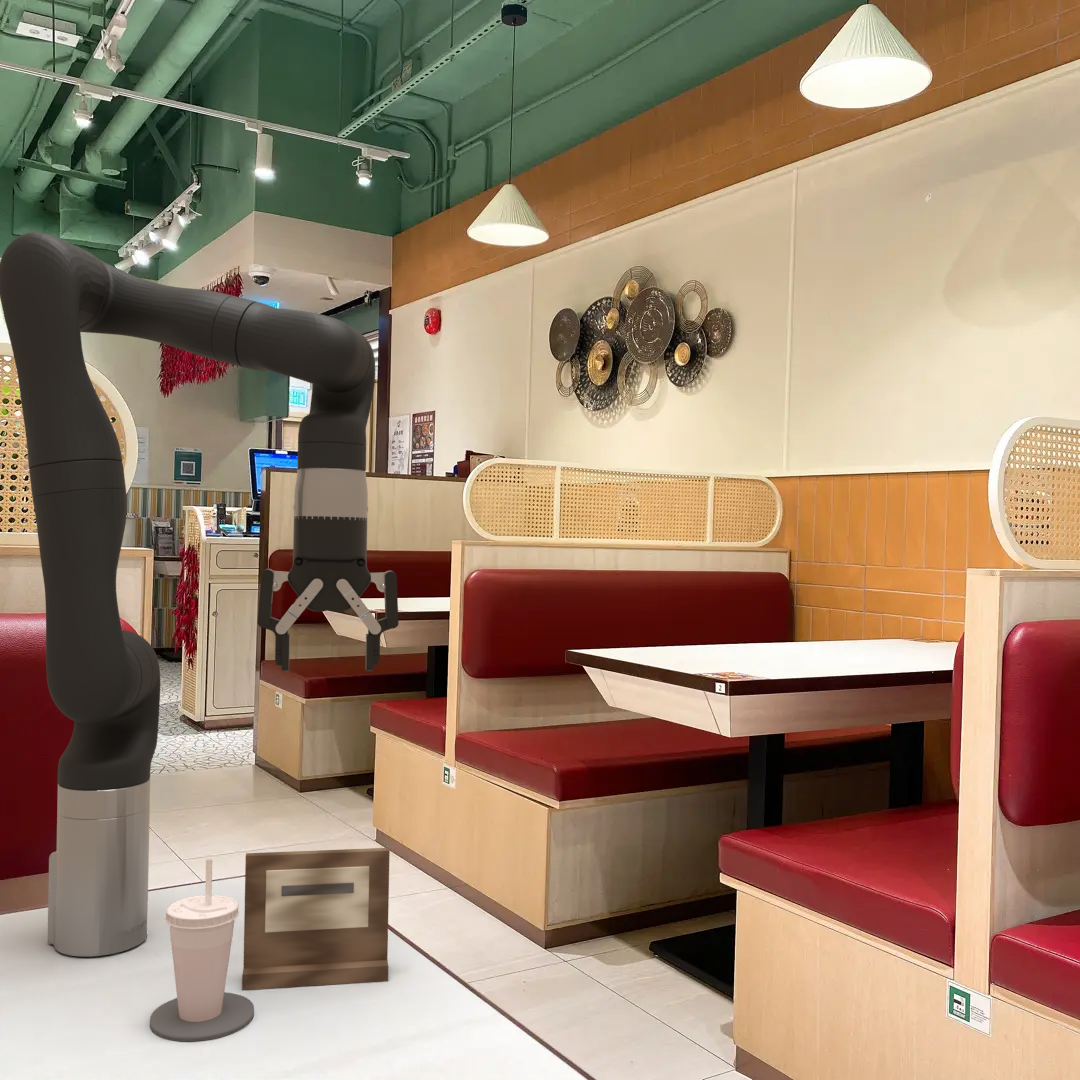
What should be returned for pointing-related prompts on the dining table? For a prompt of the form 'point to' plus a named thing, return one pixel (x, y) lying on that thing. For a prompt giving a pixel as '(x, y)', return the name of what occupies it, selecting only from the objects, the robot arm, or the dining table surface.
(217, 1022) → the coaster
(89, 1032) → the dining table surface
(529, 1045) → the dining table surface
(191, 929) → the smoothie
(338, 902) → the placard
